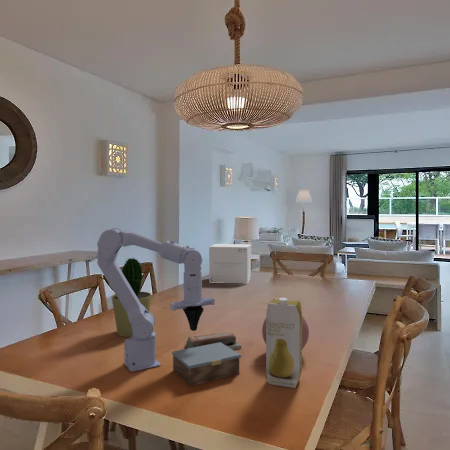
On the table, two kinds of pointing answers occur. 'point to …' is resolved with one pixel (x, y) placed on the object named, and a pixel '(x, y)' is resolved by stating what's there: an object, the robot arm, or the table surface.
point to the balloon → (304, 332)
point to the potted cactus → (134, 279)
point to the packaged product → (213, 340)
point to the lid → (205, 355)
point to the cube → (230, 263)
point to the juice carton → (284, 342)
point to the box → (205, 371)
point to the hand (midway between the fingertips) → (193, 329)
